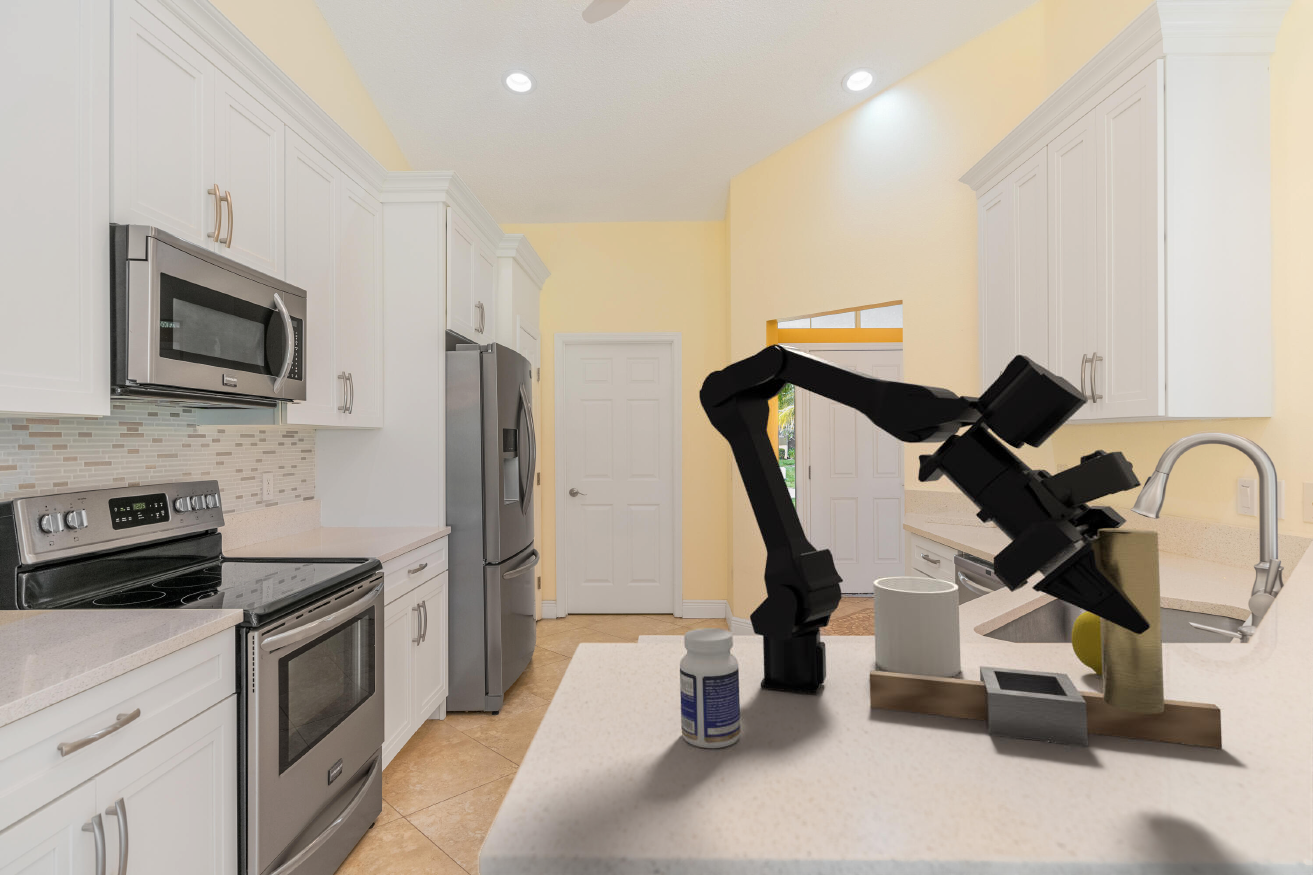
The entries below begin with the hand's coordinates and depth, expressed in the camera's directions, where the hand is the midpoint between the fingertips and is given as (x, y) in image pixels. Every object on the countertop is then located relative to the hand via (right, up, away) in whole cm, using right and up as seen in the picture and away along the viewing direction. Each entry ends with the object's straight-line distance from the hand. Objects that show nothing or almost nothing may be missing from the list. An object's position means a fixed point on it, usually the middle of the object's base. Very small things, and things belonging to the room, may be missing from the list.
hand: (1151, 625), depth 52 cm
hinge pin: (-1, -7, +1) cm, 7 cm away
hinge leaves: (-3, -13, +12) cm, 18 cm away
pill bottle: (-34, -14, +11) cm, 39 cm away
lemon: (+13, -14, +25) cm, 32 cm away
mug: (-7, -14, +31) cm, 35 cm away
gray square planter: (-3, -13, +12) cm, 18 cm away
